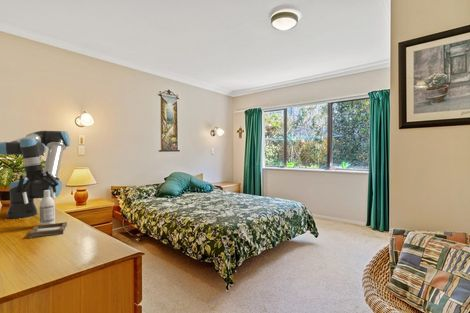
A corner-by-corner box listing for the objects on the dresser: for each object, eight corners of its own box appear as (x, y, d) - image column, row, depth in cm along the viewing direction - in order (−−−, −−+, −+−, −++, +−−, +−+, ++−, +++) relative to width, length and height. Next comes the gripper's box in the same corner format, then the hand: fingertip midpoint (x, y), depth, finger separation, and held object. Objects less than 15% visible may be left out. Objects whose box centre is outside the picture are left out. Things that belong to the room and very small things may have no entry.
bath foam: (43, 224, 144) (42, 189, 143) (57, 222, 146) (56, 189, 145) (37, 227, 137) (36, 191, 137) (52, 226, 139) (51, 191, 139)
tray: (35, 229, 134) (35, 225, 134) (67, 226, 140) (66, 222, 140) (28, 238, 121) (28, 233, 121) (63, 233, 128) (63, 229, 128)
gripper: (2, 169, 136) (11, 207, 138) (56, 161, 144) (63, 197, 146) (9, 168, 143) (17, 204, 145) (60, 161, 151) (67, 195, 153)
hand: (40, 200), depth 145 cm, fingers open, 13 cm apart
